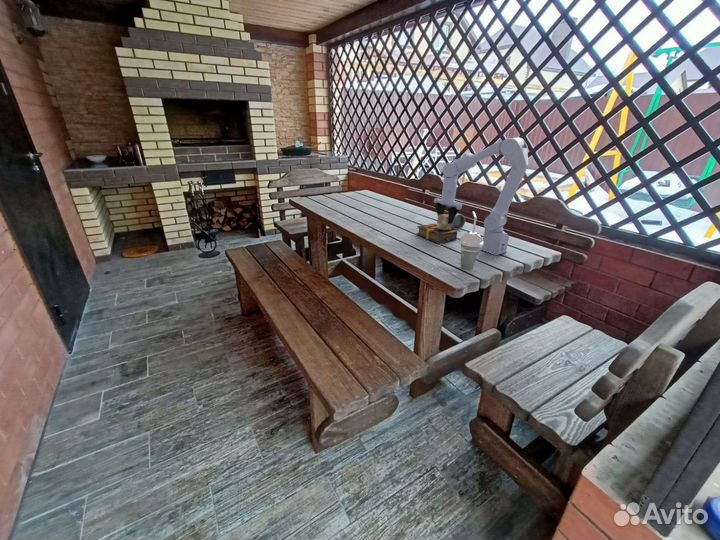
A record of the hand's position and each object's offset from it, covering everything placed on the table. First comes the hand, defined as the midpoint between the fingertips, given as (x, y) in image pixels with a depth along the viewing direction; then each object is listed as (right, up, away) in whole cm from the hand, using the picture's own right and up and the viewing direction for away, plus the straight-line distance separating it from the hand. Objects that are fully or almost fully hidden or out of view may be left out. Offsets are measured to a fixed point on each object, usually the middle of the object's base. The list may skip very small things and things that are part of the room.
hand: (445, 221), depth 148 cm
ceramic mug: (+8, -1, +19) cm, 20 cm away
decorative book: (-3, -7, +5) cm, 9 cm away
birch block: (0, -3, +1) cm, 3 cm away
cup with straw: (+1, -21, -26) cm, 34 cm away
